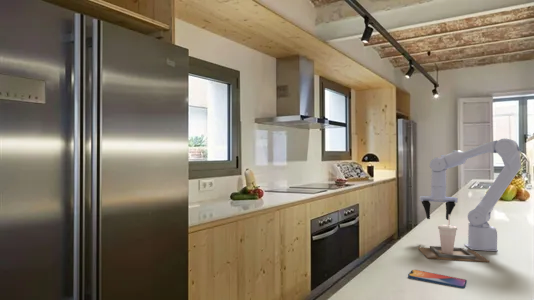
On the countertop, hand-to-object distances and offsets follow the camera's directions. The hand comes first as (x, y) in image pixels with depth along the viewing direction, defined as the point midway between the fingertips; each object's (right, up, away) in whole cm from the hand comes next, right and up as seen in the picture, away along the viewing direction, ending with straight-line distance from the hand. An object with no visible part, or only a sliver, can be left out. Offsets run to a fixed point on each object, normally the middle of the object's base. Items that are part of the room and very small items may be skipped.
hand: (437, 219), depth 159 cm
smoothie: (-5, -9, -19) cm, 22 cm away
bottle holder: (-4, -9, -21) cm, 23 cm away
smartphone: (-22, -10, -48) cm, 53 cm away
